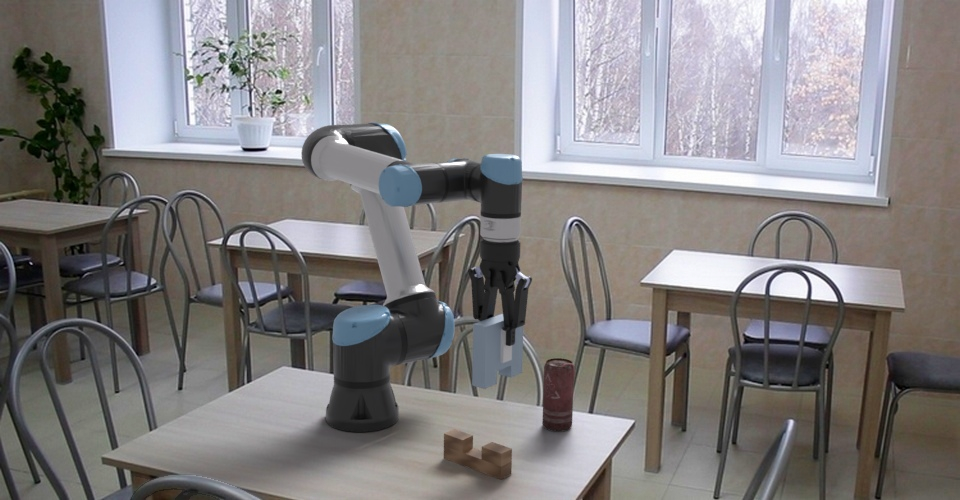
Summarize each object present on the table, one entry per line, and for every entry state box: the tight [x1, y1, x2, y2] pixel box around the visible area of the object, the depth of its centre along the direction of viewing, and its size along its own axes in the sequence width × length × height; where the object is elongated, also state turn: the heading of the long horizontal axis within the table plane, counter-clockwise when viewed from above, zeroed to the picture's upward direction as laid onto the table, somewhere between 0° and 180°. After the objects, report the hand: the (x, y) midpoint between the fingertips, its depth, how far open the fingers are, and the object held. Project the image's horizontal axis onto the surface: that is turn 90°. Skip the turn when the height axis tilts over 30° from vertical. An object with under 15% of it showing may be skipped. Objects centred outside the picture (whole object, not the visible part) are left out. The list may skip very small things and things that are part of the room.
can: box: [542, 357, 576, 432], centre depth 201 cm, size 6×6×14 cm
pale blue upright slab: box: [471, 313, 524, 390], centre depth 187 cm, size 3×12×12 cm, turn 142°
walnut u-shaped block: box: [443, 428, 513, 480], centre depth 183 cm, size 14×3×5 cm, turn 50°
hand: (498, 358), depth 187 cm, fingers closed on pale blue upright slab, 3 cm apart
